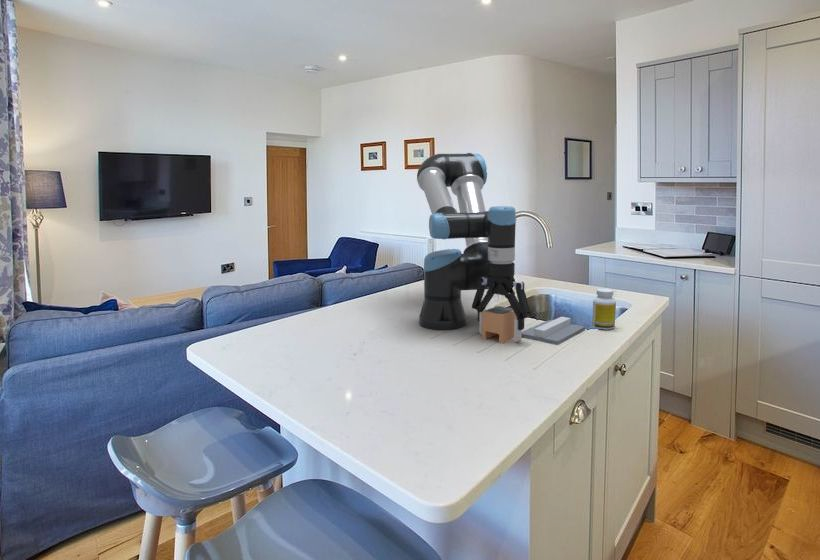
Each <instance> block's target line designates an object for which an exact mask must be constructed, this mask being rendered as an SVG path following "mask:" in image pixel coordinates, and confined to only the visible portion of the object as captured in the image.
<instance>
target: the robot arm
mask: <svg viewBox="0 0 820 560" xmlns="http://www.w3.org/2000/svg"><path fill="white" fill-rule="evenodd" d="M487 170H488V167H487V163H486V161H485V158H484V157H483V155H481V154H480V153H472V152H467V153H437V154H433V155H431V156H429V157H427V158H426V159H425V160H424V161H423V162H422V163H421V164H420V166H419V168H418V170H417V173H416V174H417V175H416V181H417V184H418V187H419V189H420V190H421V191H423V193H424V196H425V198H426V201H427V203H428V207H429V210H430V213H431V214H430V215H429V220H428V230H429V236H430V237H431V238H432V239H434V240H437V239H438V240H451V239H453V240H454V239H465V246H466V247H465V248H464V250H463V253H462V251H461V249H459V248H452V249H450V248H447V249H440V250H437V251H432V252H430V253H427V254H426V255H425V257H424V259H423V260H424V261H423V287H424V288H423V290H424V292H423V293H424V294H423V295H424V299H423V300H424V301H423V304H422V306H421V309H420V314H419V318H418V319H419V321H418V323H419V325H420V326H421V327H424V328H427V329H432V330H455V329H459V328H463V327H465V326H466V325H467V315H466V313H465V309H464V305H463V302H462V291H476V292H475V295H474V298H473V302H472V303H471V308H472V310H476V311H477V322H478V323H479V327H478V328H479V329H478V330H479V333H478V334H479V335H482V311H485V310H486V308H487V306H488V305H489V303H490V301H491V300H492V299H493V297H494V295H500V296H504V297H505V298H506V299H507V301H508V303H509V305H510V306H511V307H510V308H511V309H513V311H514V313H515V314H516V316H517V318H516V319H515V323H514V338H513V341H514V342H515V343H518V342H520V341H521V340H522V337H521V336H522V332H523V331H524V329H525V320H526V319H527V318H529V317H531V316H532V312H531V308H530V304H529V301H528V298H527V294H526V290H525V282H524V281H520V282H518V281H515V270H516V269H515V267H516V265H515V262H514V261H515V260H516V258H515V257H516V227H517V225H516V223H517V217H516V216H517V215H516V209H515V207H514V206H505V205H504V206H503V205H502V206H501V205H500V206H498V205H497V206H491V207H489V208H488V211H487V210H486V208H485V202H484V198H483V194H482V189H483V187H484V186H485V185H486V182H487V178H488V172H487ZM448 188H450V190H451V192H452V194H453V195H454V196H456V198H457V204H458V210H459V212H458V211H457V208H456V206H455V204H454V201H453V199H452V196H451V193H450V191H449V189H448ZM485 291H486V294H485ZM522 330H523V331H522Z"/></svg>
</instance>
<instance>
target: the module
mask: <svg viewBox="0 0 820 560" xmlns="http://www.w3.org/2000/svg"><path fill="white" fill-rule="evenodd" d="M516 318H517V316H516V314H515V313H514V311H513V309H512V307H505V306H500V305H499V306H498V305H497V306H496V305H495V306H493V307H491V308H488V309H485V310H484V311H482V334H481V339H483V340H486V339H489V338H492V337H493V336H497V335H498V336H499V337H498V341H499V343H501V344H504V343H506V342H508V341H511V340H514V323H515V319H516Z"/></svg>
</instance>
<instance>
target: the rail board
mask: <svg viewBox="0 0 820 560" xmlns="http://www.w3.org/2000/svg"><path fill="white" fill-rule="evenodd" d="M571 321H572V320H571V317H567V316H560V317H557V318H555V319H553V320H551V319H548V320H546V321H543V322H541V323H539V324H536V325H535V326H532V327H530V328H527V329H526V330H523V331H522V336H521V338H526V339H529V340H534V341H538V342H543V343H548V344H553V345H555V346H558V345H560V344H562V343H564V342H565V341H568V340H569V339H571V338H573V337H575V336H576V335H578V334H581V333H582V332H584V331H586V326H583V325H578V324H573V323H572V322H571Z"/></svg>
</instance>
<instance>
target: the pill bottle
mask: <svg viewBox="0 0 820 560" xmlns="http://www.w3.org/2000/svg"><path fill="white" fill-rule="evenodd" d="M596 296H597V297H595V298H594V299H593V301H592V318H591V319H592V321H591V326H592V327H593V328H595V329H598V330H602V329H603V330H605V331H606V330H607V331H608V330H614V328H615V324H616V306H617V300H616V299H615V298H614V297H613V296H614V290H613V289H611V288H610V289H609V288H598V289H596Z"/></svg>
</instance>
